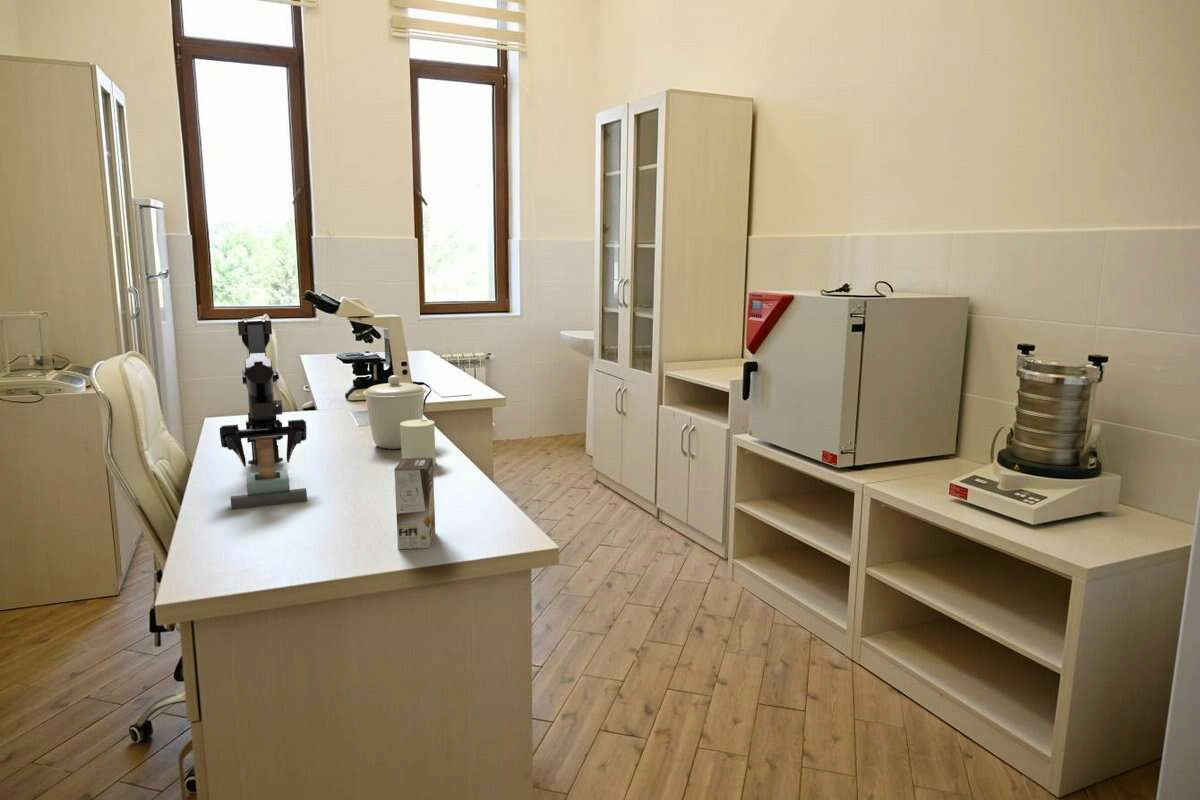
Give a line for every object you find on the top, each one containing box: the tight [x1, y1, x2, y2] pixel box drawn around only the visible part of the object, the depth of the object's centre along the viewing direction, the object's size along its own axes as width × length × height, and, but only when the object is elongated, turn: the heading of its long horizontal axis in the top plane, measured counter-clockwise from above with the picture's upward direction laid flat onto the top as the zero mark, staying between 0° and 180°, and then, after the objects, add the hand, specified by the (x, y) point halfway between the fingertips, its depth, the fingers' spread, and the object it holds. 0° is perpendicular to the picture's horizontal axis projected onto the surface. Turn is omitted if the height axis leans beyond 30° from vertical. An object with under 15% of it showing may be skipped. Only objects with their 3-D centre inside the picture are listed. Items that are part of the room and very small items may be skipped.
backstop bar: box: [230, 487, 308, 510], centre depth 182 cm, size 2×16×2 cm, turn 114°
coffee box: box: [393, 458, 436, 550], centre depth 158 cm, size 9×6×16 cm
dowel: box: [256, 437, 276, 480], centre depth 186 cm, size 4×4×13 cm
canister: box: [362, 374, 427, 450], centre depth 236 cm, size 18×18×21 cm
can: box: [400, 418, 437, 467], centre depth 215 cm, size 9×9×12 cm
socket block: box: [246, 469, 291, 495], centre depth 188 cm, size 9×9×5 cm
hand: (266, 463), depth 185 cm, fingers open, 9 cm apart
